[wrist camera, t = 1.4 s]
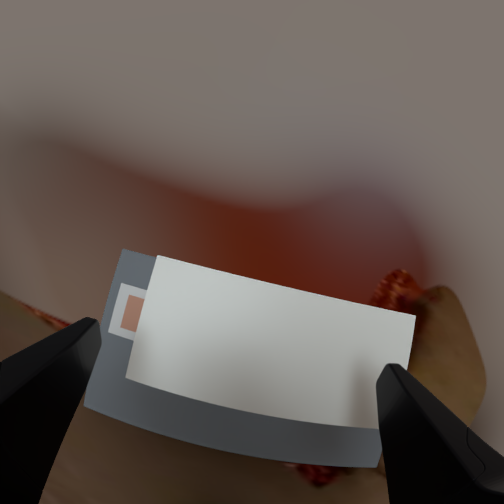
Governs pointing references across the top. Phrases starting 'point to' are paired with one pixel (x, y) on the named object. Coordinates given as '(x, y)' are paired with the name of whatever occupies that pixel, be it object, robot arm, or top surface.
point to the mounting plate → (198, 412)
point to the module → (264, 346)
